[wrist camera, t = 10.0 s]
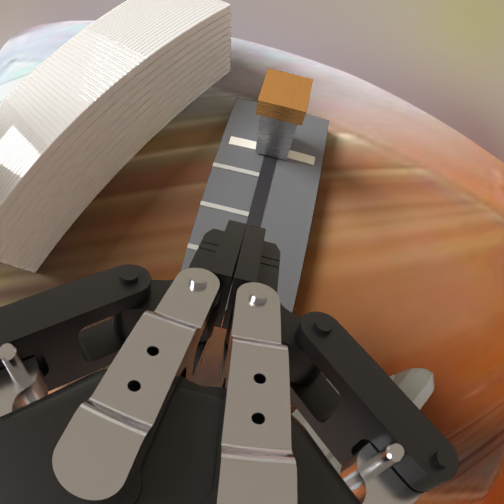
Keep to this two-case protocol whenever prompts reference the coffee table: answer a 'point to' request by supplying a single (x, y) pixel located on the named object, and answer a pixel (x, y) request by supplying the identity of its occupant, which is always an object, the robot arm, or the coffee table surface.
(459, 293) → the coffee table surface
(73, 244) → the coffee table surface
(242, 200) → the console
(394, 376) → the digital clock
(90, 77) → the stack of papers
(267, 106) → the fader
